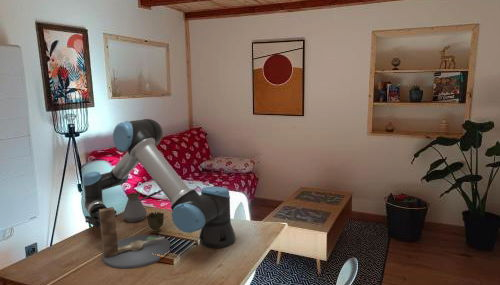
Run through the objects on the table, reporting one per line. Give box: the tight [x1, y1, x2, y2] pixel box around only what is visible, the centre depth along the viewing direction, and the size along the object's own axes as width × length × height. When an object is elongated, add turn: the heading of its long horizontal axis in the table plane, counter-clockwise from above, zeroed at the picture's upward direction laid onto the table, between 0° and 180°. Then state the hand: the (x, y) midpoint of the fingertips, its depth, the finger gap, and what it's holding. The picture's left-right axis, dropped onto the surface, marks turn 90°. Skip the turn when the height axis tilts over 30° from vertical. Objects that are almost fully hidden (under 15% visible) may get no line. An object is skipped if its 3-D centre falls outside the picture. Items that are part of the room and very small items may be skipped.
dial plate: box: [101, 234, 171, 270], centre depth 142 cm, size 26×26×2 cm
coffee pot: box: [122, 189, 163, 223], centre depth 176 cm, size 21×12×15 cm, turn 93°
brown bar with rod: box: [99, 206, 165, 257], centre depth 140 cm, size 24×5×18 cm, turn 122°
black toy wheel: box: [146, 211, 164, 233], centre depth 161 cm, size 8×7×8 cm
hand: (108, 228), depth 140 cm, fingers closed
